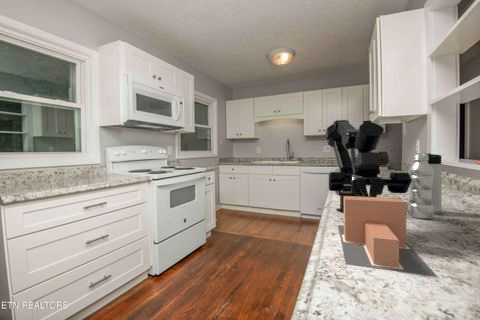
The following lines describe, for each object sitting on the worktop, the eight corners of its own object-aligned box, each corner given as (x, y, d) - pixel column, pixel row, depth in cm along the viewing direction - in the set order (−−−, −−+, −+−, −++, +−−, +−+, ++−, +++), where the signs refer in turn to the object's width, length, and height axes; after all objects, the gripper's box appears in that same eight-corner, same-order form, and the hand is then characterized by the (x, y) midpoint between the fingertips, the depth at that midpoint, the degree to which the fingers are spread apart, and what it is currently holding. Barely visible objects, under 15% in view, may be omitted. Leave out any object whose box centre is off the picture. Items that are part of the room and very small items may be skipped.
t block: (343, 235, 56) (343, 196, 56) (400, 240, 52) (400, 198, 52) (350, 261, 43) (349, 209, 43) (426, 271, 39) (426, 214, 38)
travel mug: (438, 211, 77) (439, 153, 76) (443, 215, 71) (443, 153, 71) (416, 208, 80) (416, 153, 80) (418, 213, 75) (418, 154, 74)
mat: (337, 226, 64) (337, 225, 64) (395, 231, 59) (395, 229, 59) (345, 266, 42) (345, 264, 42) (438, 279, 37) (438, 276, 37)
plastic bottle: (412, 220, 67) (412, 154, 67) (404, 214, 74) (404, 154, 73) (438, 222, 65) (439, 154, 64) (428, 216, 72) (428, 154, 71)
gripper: (328, 143, 62) (330, 188, 52) (408, 140, 55) (428, 191, 45) (328, 169, 69) (329, 213, 59) (398, 169, 63) (414, 219, 53)
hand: (371, 209), depth 54 cm, fingers closed, pressing on t block
